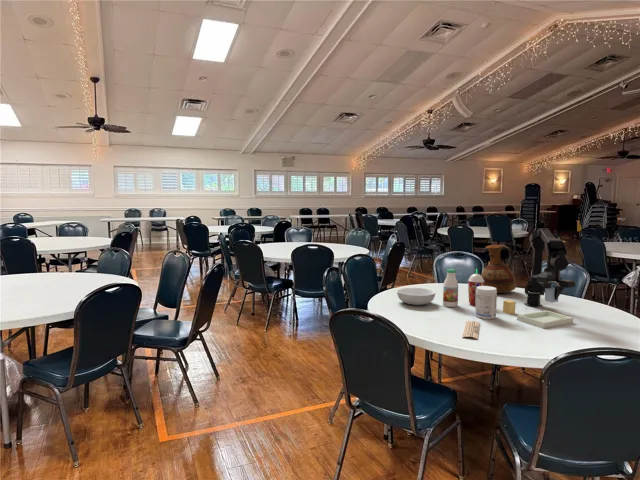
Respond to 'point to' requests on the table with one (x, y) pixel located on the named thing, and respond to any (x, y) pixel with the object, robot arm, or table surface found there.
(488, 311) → the supplement tub
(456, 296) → the milk bottle
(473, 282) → the smoothie
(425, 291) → the serving bowl
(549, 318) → the tray
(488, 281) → the ceramic pitcher
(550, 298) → the slate block
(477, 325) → the newspaper
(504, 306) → the ochre block
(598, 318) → the table surface
